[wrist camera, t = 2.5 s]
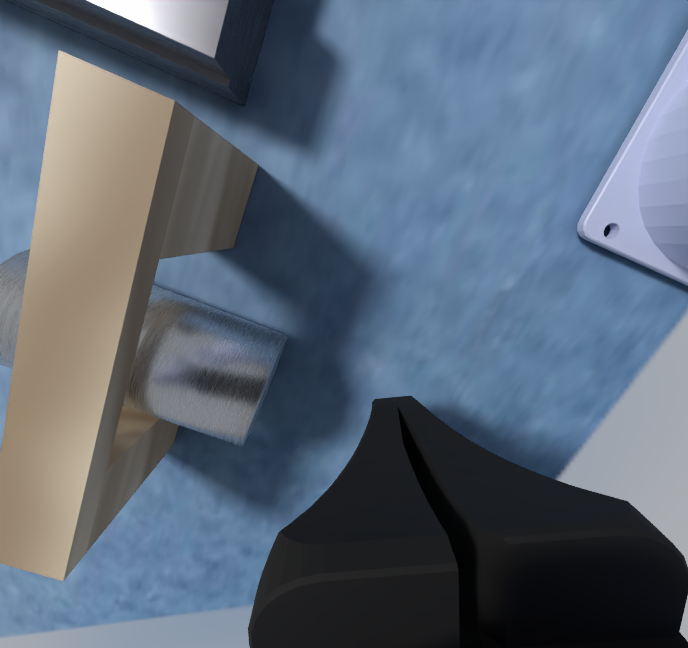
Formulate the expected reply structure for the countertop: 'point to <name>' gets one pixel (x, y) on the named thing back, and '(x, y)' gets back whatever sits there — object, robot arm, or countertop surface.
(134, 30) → the v block
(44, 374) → the beam
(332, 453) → the countertop surface
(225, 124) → the countertop surface
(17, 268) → the silver metal cylinder
